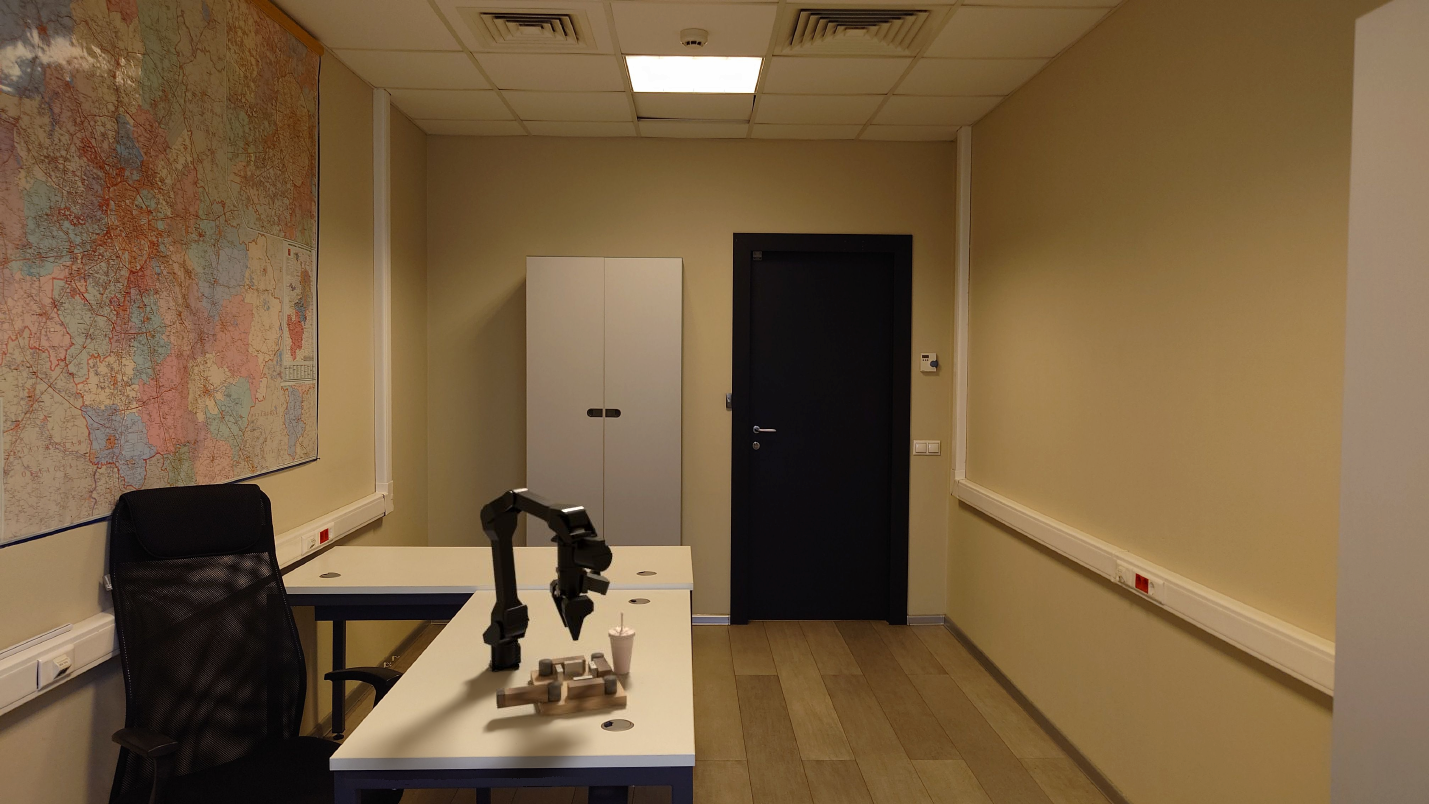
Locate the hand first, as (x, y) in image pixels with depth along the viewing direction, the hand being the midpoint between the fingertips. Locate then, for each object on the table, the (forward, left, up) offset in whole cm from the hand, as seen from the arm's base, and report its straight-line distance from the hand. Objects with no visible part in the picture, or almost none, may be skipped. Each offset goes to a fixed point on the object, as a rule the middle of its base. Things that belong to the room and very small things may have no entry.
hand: (571, 633), depth 174 cm
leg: (-10, -7, -11) cm, 16 cm away
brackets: (+1, 0, -11) cm, 11 cm away
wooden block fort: (+1, 0, -13) cm, 13 cm away
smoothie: (+13, +8, -14) cm, 21 cm away
